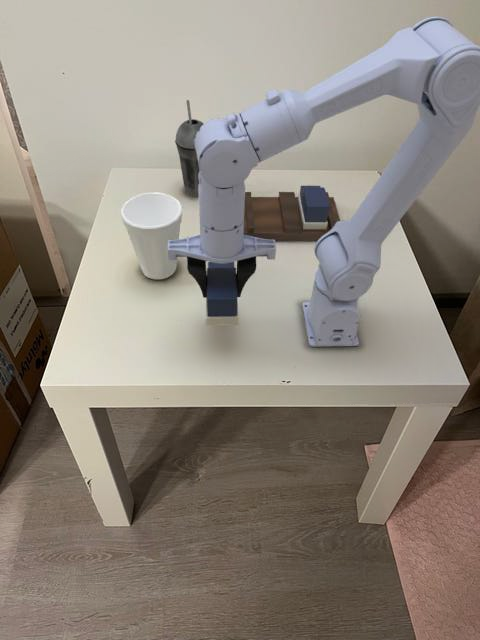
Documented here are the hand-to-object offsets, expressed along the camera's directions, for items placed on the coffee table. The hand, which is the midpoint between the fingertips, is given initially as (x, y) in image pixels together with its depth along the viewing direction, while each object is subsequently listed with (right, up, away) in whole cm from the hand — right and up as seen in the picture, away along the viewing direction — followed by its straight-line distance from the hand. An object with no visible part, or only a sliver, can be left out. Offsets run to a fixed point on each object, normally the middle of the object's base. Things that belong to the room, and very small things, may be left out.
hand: (222, 292), depth 72 cm
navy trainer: (0, -1, +1) cm, 2 cm away
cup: (-12, +5, +16) cm, 21 cm away
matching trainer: (+17, +17, +25) cm, 35 cm away
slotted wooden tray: (+12, +16, +27) cm, 33 cm away
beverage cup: (-7, +24, +33) cm, 41 cm away
